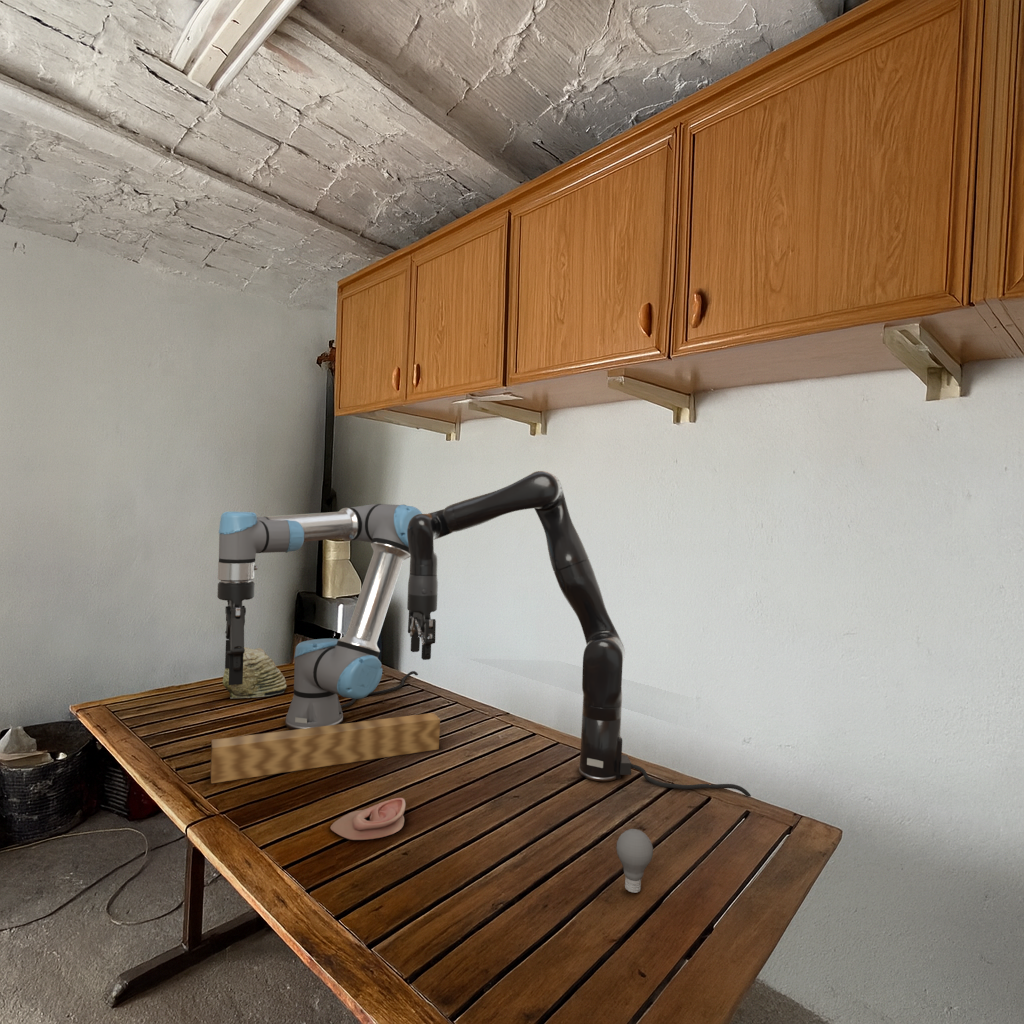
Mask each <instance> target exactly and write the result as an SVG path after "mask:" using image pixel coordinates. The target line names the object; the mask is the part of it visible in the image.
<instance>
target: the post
mask: <svg viewBox="0 0 1024 1024" xmlns="http://www.w3.org/2000/svg"><path fill="white" fill-rule="evenodd" d="M440 734H441V718H439V716H438V715H436V713H434V712H428V713H421V714H420V713H419V714H412V715H406V716H405V715H404V716H403V715H402V716H396V717H387V718H381V719H380V718H379V719H372V720H364V721H357V722H356V721H355V722H347V723H341V724H338V725H329V726H321V727H313V728H305V729H296V730H292V729H289V730H282V731H281V730H280V731H272V732H263V733H256V734H248V735H240V736H232V737H225V738H215V739H211V743H210V744H211V746H210V747H211V748H210V773H209V774H210V784H217V783H224V782H230V781H237V780H242V779H243V780H245V779H250V778H257V777H263V776H270V775H277V774H282V773H291V772H297V771H303V770H311V769H316V768H317V769H318V768H323V767H330V766H337V765H344V764H350V763H356V762H357V763H358V762H364V761H371V760H375V759H383V758H390V757H397V756H403V755H410V754H417V753H423V752H431V751H437V750H440Z"/></svg>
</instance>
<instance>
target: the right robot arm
mask: <svg viewBox="0 0 1024 1024" xmlns="http://www.w3.org/2000/svg"><path fill="white" fill-rule="evenodd" d="M532 509H534V511H535V513H536V515H537V518H538V519H539V521H540V524H541V526H542V529H543V531H544V536H545V540H546V545H547V551H548V557H549V561H550V565H551V568H552V571H553V573H554V577H555V579H556V582H557V585H558V587H559V589H560V591H561V593H562V596H564V598H565V600H566V601H567V603H568V605H569V607H571V609H572V611H573V612H574V614H575V615H576V617H577V620H578V621H579V624H580V627H581V630H582V632H583V636H584V640H585V644H586V646H585V648H584V651H583V654H582V675H581V676H582V679H581V691H582V709H581V710H582V711H581V713H582V714H581V732H580V733H581V734H580V750H579V751H580V752H579V753H580V754H579V767H578V773H579V774H580V776H582V777H583V778H585V779H587V780H590V781H594V782H611V781H615V780H621V779H622V776H631V775H632V769H633V770H637V771H639V772H640V773H641V774H642V775H643V778H644V779H645V780H646V781H648V782H649V783H650V784H652V785H655V786H658V787H661V788H666V789H676V790H701V789H714V790H719V789H720V790H721V789H732V790H737V791H739V792H741V793H742V794H744V796H746V797H752V794H751V793H750V792H749V791H748V790H747V789H745V788H744V787H742V786H741V785H738V784H734V783H698V784H697V783H695V784H679V783H666V782H661V781H658V780H655V779H654V778H652V777H650V776H649V775H648V773H647V771H646V770H645V769H644V768H643V767H641V766H640V765H637V764H633V763H632V761H631V760H630V758H629V757H628V755H626V754H623V738H622V736H621V729H622V728H621V727H622V710H623V709H622V706H623V705H622V704H623V688H622V685H623V684H622V683H623V668H624V667H623V666H624V665H623V664H624V660H625V657H626V648H625V644H624V642H623V641H622V638H621V636H620V635H619V633H618V631H617V628H616V627H615V626H614V624H613V621H612V619H611V617H610V615H609V613H608V610H607V608H606V605H605V600H604V598H603V597H604V596H603V595H602V591H601V588H600V585H599V582H598V579H597V575H596V573H595V570H594V568H593V564H592V562H591V560H590V557H589V555H588V553H587V550H586V547H585V545H584V544H583V541H582V539H581V537H580V535H579V533H578V531H577V529H576V527H575V525H574V523H573V521H572V520H573V519H572V518H571V515H570V512H569V508H568V504H567V500H566V497H565V493H564V489H563V485H562V483H561V481H560V479H559V478H558V476H556V475H554V474H552V473H551V472H549V471H545V470H537V471H534V472H532V473H530V474H528V475H526V476H525V477H523V478H521V479H519V480H517V481H515V482H513V483H511V484H509V485H507V486H505V487H502V488H499V489H497V490H494V491H491V492H488V493H484V494H480V495H477V496H474V497H471V498H468V499H464V500H462V501H459V502H455V503H452V504H450V505H447V506H446V507H445V508H443V509H440V510H439V509H438V510H436V511H432V512H429V513H422V514H418V515H415V516H414V517H412V518H411V520H410V521H409V524H408V529H407V538H408V546H409V552H410V557H409V575H408V582H407V601H406V602H407V604H406V605H407V606H406V609H407V611H408V618H407V619H408V621H407V633H408V634H409V637H410V652H411V653H418V652H420V645H421V655H420V656H421V660H423V661H428V660H431V657H432V645H433V644H436V633H437V632H436V628H437V627H436V626H437V625H436V623H437V621H436V619H435V618H431V613H434V612H436V611H437V610H438V595H439V594H438V591H439V587H438V586H439V581H438V580H439V579H438V568H439V567H438V566H439V565H438V564H439V559H438V558H439V557H438V554H437V553H436V552H435V545H434V540H437V539H440V538H443V537H445V536H448V535H451V534H453V533H457V532H461V531H465V530H468V529H472V528H474V527H477V526H479V525H482V524H485V523H488V522H490V521H492V520H495V519H496V518H499V517H502V516H504V515H507V514H510V513H514V512H518V511H525V510H532ZM709 784H711V785H709Z"/></svg>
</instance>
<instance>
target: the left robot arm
mask: <svg viewBox="0 0 1024 1024" xmlns="http://www.w3.org/2000/svg"><path fill="white" fill-rule="evenodd" d="M418 514H423V512H422V511H421V510H420V509H419V508H417V507H416V506H413V505H406V504H388V503H387V504H386V503H372V504H371V503H370V504H365V505H364V504H363V505H358V506H351V507H343V508H341V509H340V510H339V511H329V512H328V511H327V512H313V513H298V514H297V513H296V514H281V515H267V516H266V515H265V516H258V515H257V513H255V512H253V511H224V512H223V513H221V515H220V520H219V528H218V561H217V563H218V564H217V580H218V581H219V582H218V583H217V595H216V596H217V599H218V600H221V601H226V602H227V606H226V605H225V608H224V609H225V610H224V611H225V612H224V613H225V622H226V625H225V626H226V627H225V632H224V633H225V638H226V639H225V653H224V654H225V656H224V657H225V658H224V660H225V661H224V663H225V664H224V670H225V669H228V668H229V685H238V684H243V655H244V654H243V653H244V652H245V649H244V647H245V625H246V613H247V608H246V606H245V605H243V601H249V600H252V599H253V598H254V597H255V582H254V581H253V580H254V579H255V577H256V576H255V574H256V572H255V571H257V570H258V569H259V566H258V565H256V556H257V554H266V553H268V554H269V553H270V554H271V553H285V554H286V553H291V552H296V551H299V550H300V549H301V548H302V547H303V545H304V543H308V542H316V541H327V540H337V539H341V540H343V541H345V542H352V541H357V542H358V541H359V542H366V543H370V547H371V549H372V550H373V553H372V556H371V559H370V561H369V562H370V563H369V565H368V567H367V571H366V574H365V577H364V579H363V583H362V586H361V589H360V591H359V595H358V597H357V601H356V604H355V606H354V609H353V612H352V615H351V618H350V621H349V624H348V627H347V630H346V632H345V635H344V636H341V637H340V638H338V639H337V638H331V637H329V638H317V639H316V638H315V639H308V640H304V641H300V642H299V643H298V644H297V645H296V646H295V650H294V651H295V652H294V655H293V658H294V672H293V695H292V696H293V697H292V699H291V702H290V704H289V708H288V711H287V713H286V715H285V726H286V728H287V729H289V730H296V729H305V728H313V727H321V726H329V725H338V724H343V722H344V714H343V709H345V708H347V707H348V708H349V707H350V706H352V705H353V704H354V703H355V702H356V701H357V700H360V699H365V698H367V697H368V696H375V695H382V694H386V693H390V692H394V691H397V690H399V689H401V688H402V687H403V686H405V681H406V680H407V679H408V678H409V677H410V676H411V675H415V676H418V675H419V673H418V672H417V671H415V670H412V671H409V672H408V673H407V674H406V675H404V676H403V677H402V678H401V681H400V682H401V683H400V684H398V685H396V686H394V687H390V688H386V689H383V690H376V688H377V687H378V686H379V685H380V682H381V680H382V677H383V667H382V666H383V665H382V662H381V660H380V659H379V656H380V652H381V650H380V648H379V646H378V641H379V637H380V635H381V631H382V628H383V626H384V622H385V620H386V619H385V618H386V616H387V612H388V611H389V610H388V609H389V606H390V603H391V600H392V597H393V594H394V592H395V588H396V585H397V582H398V579H399V575H400V573H401V569H402V566H403V563H404V561H405V560H407V559H410V552H409V546H408V538H407V529H408V524H409V521H410V520H411V518H412V517H414V516H415V515H418ZM375 690H376V691H375ZM339 696H341V697H343V698H346V699H351V701H349V702H347V703H344V704H343V703H342V704H341V702H340V699H339Z"/></svg>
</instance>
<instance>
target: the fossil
mask: <svg viewBox="0 0 1024 1024" xmlns="http://www.w3.org/2000/svg"><path fill="white" fill-rule="evenodd" d="M244 649H245V652H244V653H243V654H244V655H243V684H238V685H229V668H228V669H225V668H224V671H223V675H222V676H223V677H222V685H223V687H224V688H225V690H226V691H228V693H229V698H230V699H250V698H264V697H271V696H275V695H281V694H284V693H285V691H286V689H287V687H288V686H287V680H286V678H285V676H284V674H283V673H282V672H281V669H279V668H278V667H277V665H276V663H275V662H274V660H273V659H272V658H271V657H270V656H269V655H268V654H267V653H266V652H265V650H264V649H263V648H260V647H258V648H251V647H247V646H246V647H245V646H244Z"/></svg>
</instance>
